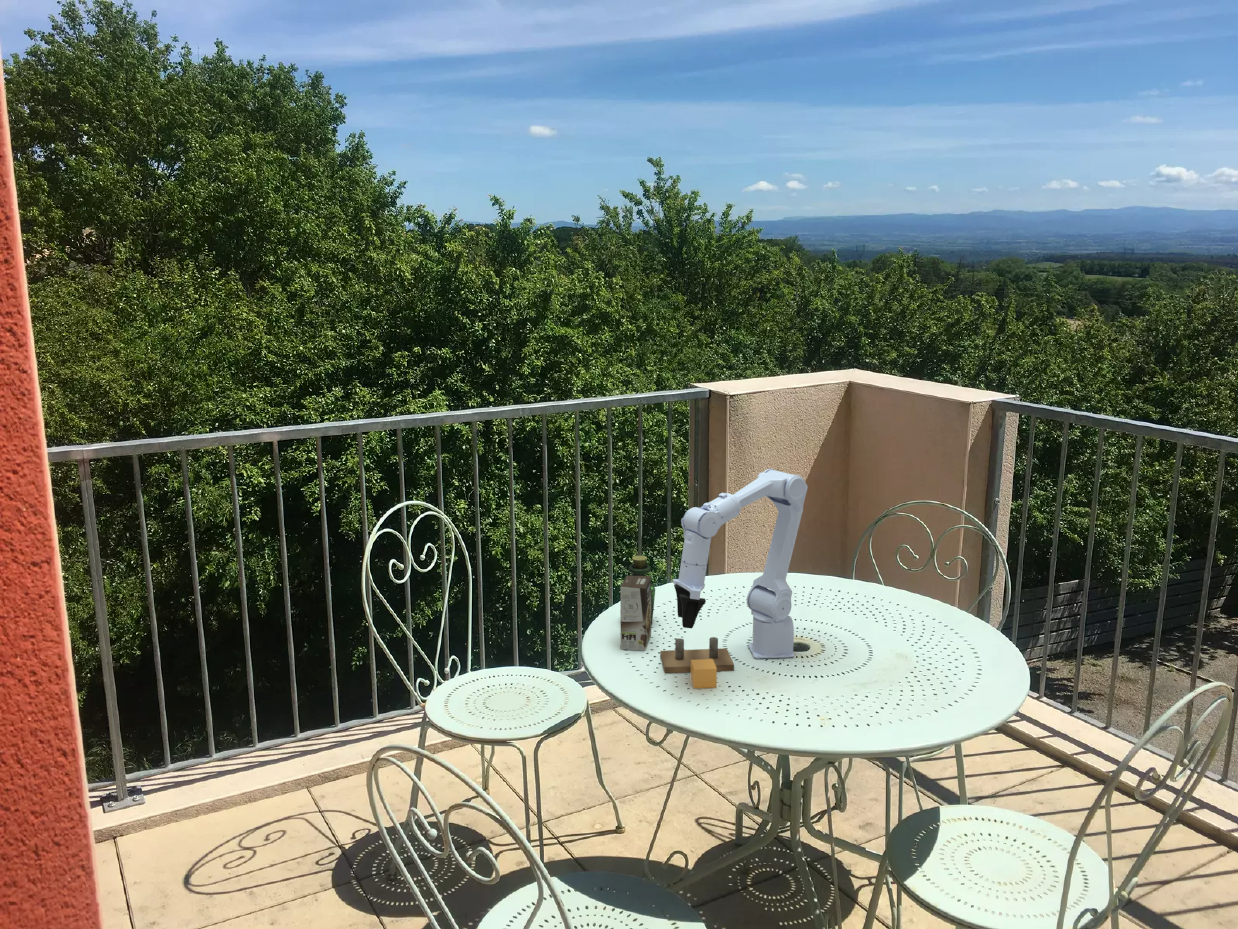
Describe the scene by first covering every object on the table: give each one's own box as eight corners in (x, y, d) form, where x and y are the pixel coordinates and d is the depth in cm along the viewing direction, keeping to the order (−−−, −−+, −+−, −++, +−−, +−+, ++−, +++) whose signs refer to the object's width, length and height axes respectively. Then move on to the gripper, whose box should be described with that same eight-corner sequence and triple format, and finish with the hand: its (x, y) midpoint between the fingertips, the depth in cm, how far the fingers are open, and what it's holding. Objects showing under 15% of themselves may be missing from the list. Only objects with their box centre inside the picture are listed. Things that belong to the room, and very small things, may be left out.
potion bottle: (618, 621, 232) (618, 555, 228) (646, 615, 236) (645, 551, 232) (633, 632, 225) (633, 564, 221) (661, 626, 229) (661, 559, 225)
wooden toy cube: (712, 677, 200) (712, 659, 199) (716, 687, 195) (716, 668, 194) (690, 678, 199) (690, 659, 198) (693, 688, 194) (694, 669, 193)
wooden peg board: (726, 654, 212) (727, 630, 210) (734, 670, 203) (734, 646, 202) (660, 656, 211) (660, 633, 209) (664, 673, 202) (664, 648, 201)
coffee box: (645, 651, 214) (645, 588, 210) (619, 649, 215) (619, 586, 211) (652, 636, 222) (652, 575, 219) (627, 634, 224) (626, 574, 220)
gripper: (672, 553, 201) (663, 610, 202) (680, 568, 186) (671, 630, 188) (702, 557, 201) (693, 614, 203) (713, 572, 187) (703, 634, 188)
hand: (684, 622), depth 195 cm, fingers open, 7 cm apart
